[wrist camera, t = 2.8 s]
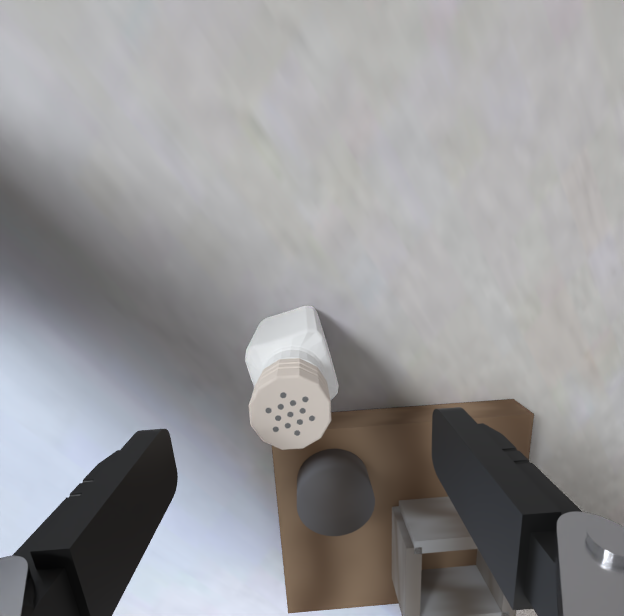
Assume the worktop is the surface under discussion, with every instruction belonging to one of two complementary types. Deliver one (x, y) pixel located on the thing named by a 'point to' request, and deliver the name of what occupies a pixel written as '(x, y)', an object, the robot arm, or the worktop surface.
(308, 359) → the salt shaker
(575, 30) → the worktop surface
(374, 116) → the worktop surface
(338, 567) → the carrier board
